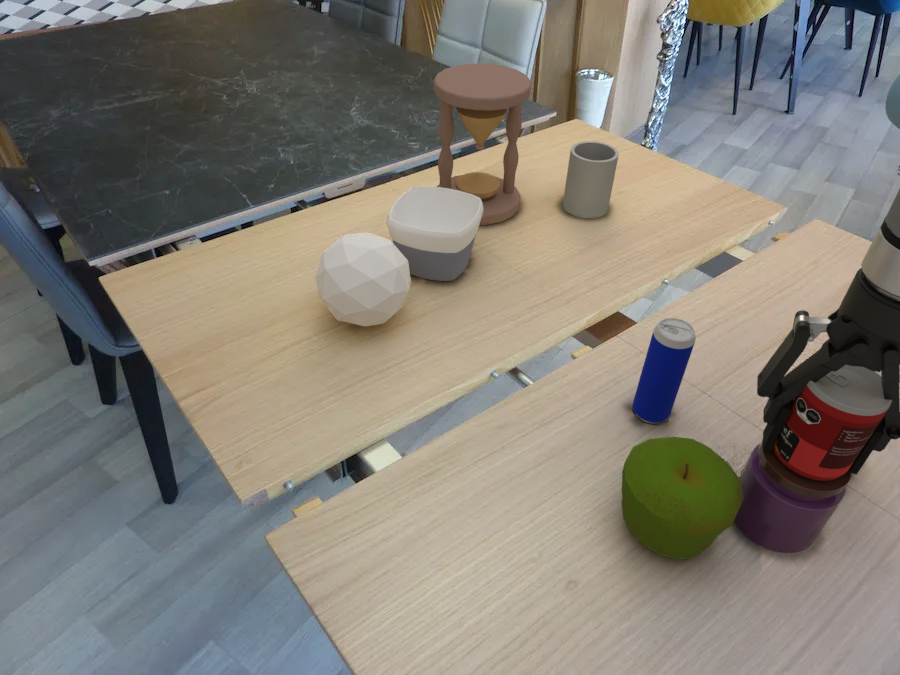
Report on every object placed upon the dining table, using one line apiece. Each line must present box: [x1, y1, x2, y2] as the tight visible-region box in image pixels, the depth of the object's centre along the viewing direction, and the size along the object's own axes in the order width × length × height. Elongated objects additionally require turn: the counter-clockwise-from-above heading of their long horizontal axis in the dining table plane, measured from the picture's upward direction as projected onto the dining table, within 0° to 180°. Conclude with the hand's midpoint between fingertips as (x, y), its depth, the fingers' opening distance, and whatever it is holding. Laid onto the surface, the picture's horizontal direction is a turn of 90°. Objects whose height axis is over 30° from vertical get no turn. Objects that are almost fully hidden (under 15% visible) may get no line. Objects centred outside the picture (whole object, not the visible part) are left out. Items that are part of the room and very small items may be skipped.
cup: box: [562, 140, 620, 219], centre depth 132 cm, size 9×9×12 cm
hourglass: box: [433, 63, 532, 226], centre depth 128 cm, size 18×18×25 cm
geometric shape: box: [314, 232, 412, 327], centre depth 103 cm, size 14×15×15 cm
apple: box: [621, 436, 743, 560], centre depth 75 cm, size 12×12×11 cm
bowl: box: [386, 185, 484, 282], centre depth 116 cm, size 15×15×11 cm
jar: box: [733, 438, 853, 554], centre depth 76 cm, size 10×10×11 cm
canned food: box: [773, 365, 892, 481], centre depth 69 cm, size 8×8×11 cm
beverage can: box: [632, 317, 696, 425], centre depth 88 cm, size 5×5×15 cm
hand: (808, 452), depth 72 cm, fingers closed on canned food, 8 cm apart
